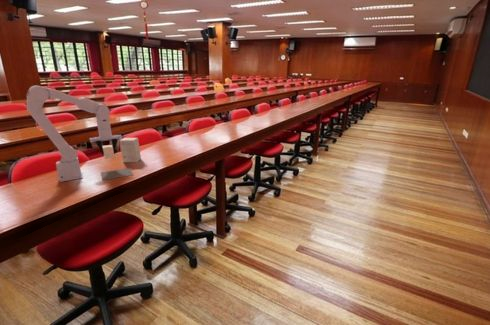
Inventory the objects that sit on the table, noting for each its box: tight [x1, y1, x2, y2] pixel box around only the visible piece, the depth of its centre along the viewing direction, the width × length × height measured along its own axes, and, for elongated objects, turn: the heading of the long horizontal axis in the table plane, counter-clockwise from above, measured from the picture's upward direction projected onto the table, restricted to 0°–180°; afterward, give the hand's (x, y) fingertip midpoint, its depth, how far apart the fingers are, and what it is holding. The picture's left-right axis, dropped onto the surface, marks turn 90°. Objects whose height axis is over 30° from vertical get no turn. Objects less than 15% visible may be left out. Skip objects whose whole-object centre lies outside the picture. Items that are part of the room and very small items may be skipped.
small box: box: [119, 137, 142, 163], centre depth 156 cm, size 8×6×13 cm
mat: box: [100, 167, 134, 181], centre depth 138 cm, size 14×12×1 cm
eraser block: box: [102, 144, 115, 160], centre depth 141 cm, size 4×6×6 cm
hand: (108, 154), depth 142 cm, fingers closed on eraser block, 4 cm apart
